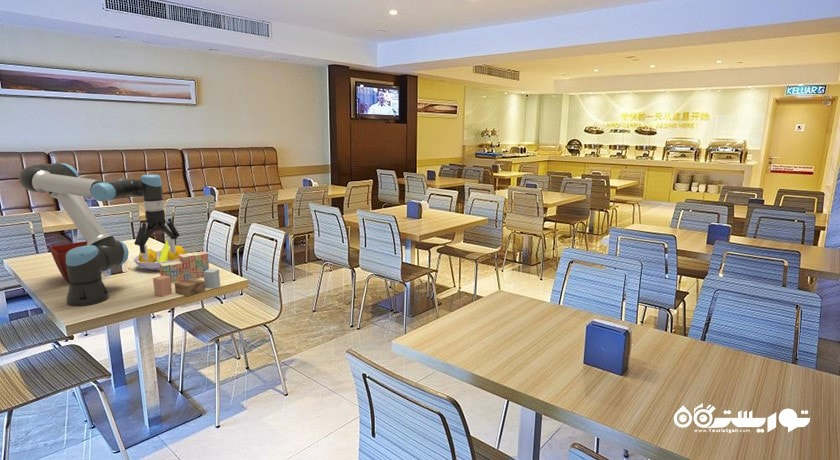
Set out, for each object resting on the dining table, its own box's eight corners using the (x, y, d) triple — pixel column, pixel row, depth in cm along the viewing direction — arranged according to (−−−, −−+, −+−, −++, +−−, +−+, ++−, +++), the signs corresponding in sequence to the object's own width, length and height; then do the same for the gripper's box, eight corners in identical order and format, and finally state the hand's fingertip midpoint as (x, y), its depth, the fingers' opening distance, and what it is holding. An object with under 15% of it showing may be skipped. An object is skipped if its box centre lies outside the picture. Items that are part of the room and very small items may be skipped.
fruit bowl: (174, 274, 245) (172, 253, 242) (123, 273, 245) (120, 252, 243) (200, 259, 272) (198, 240, 269) (154, 258, 272) (152, 239, 270)
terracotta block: (162, 296, 212) (160, 279, 210) (154, 294, 214) (152, 278, 212) (172, 293, 217) (170, 276, 215) (164, 291, 219) (163, 275, 217)
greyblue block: (214, 288, 224) (213, 272, 222) (204, 287, 225) (203, 271, 223) (220, 285, 229) (218, 269, 227) (210, 284, 229) (209, 268, 228)
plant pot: (62, 287, 221) (57, 253, 218) (54, 278, 234) (48, 246, 230) (109, 279, 235) (105, 246, 232) (98, 270, 248) (94, 240, 244)
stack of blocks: (164, 284, 229) (161, 260, 226) (161, 281, 233) (158, 257, 231) (209, 276, 243) (207, 253, 240) (205, 273, 247) (203, 250, 245)
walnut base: (188, 296, 213) (187, 286, 212) (175, 293, 217) (174, 283, 216) (205, 291, 221) (204, 280, 220) (192, 287, 225) (191, 277, 224)
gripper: (132, 215, 194) (138, 264, 199) (185, 206, 217) (189, 250, 221) (121, 213, 198) (127, 261, 202) (173, 205, 220) (178, 248, 224)
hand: (159, 256), depth 212 cm, fingers open, 13 cm apart
